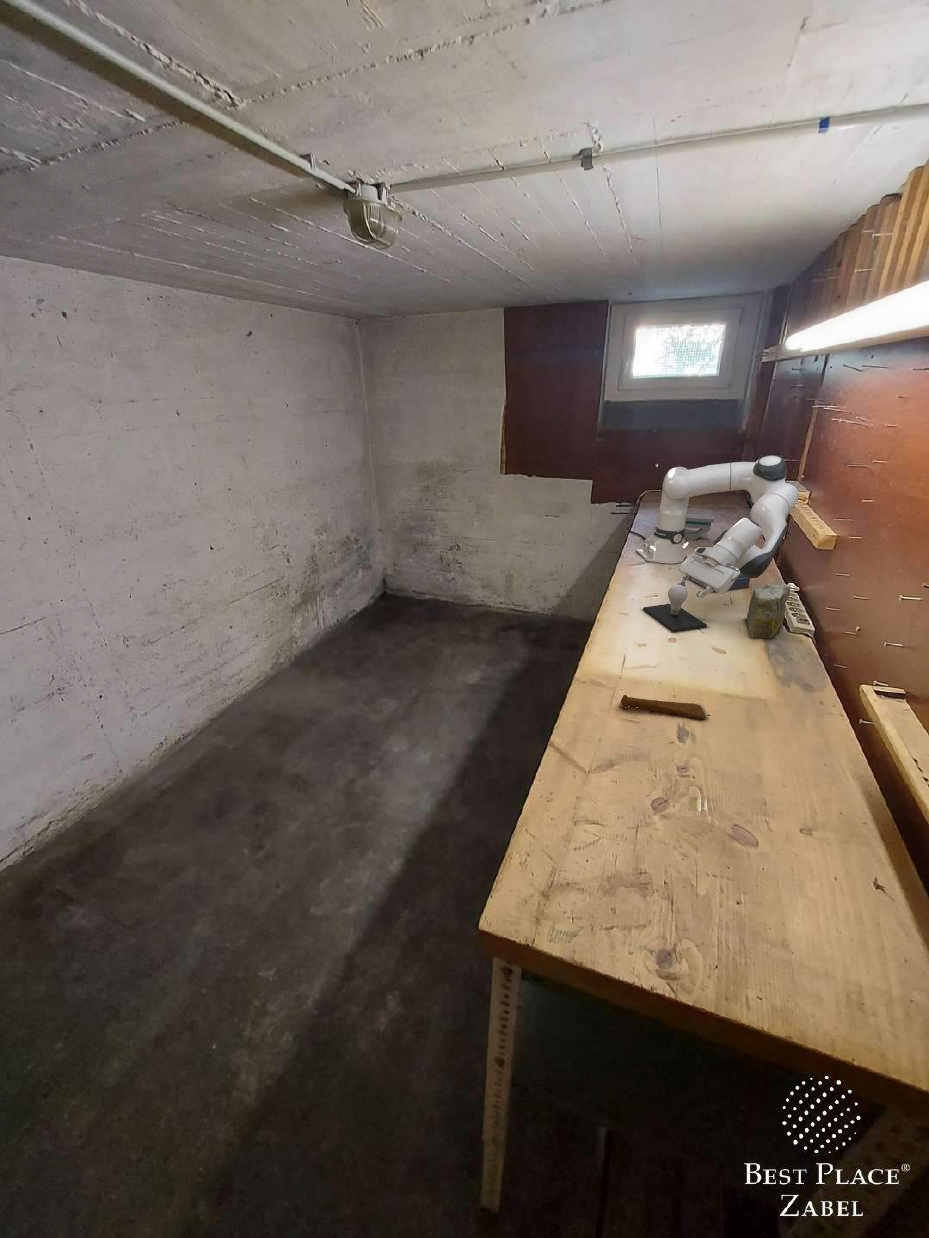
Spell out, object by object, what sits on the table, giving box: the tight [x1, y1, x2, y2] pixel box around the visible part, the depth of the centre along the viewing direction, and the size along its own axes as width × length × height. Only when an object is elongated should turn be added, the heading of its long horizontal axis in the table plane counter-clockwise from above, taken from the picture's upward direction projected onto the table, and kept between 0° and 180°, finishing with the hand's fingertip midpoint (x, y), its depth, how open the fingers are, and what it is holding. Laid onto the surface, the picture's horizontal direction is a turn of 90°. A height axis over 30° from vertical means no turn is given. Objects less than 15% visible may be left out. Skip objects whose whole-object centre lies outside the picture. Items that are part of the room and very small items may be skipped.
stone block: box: [746, 583, 791, 639], centre depth 150 cm, size 10×15×15 cm
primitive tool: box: [620, 694, 706, 720], centre depth 117 cm, size 19×6×4 cm, turn 82°
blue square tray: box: [688, 574, 751, 593], centre depth 188 cm, size 16×16×4 cm
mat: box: [642, 603, 708, 633], centre depth 163 cm, size 18×12×1 cm, turn 12°
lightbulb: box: [667, 584, 689, 616], centre depth 160 cm, size 6×6×11 cm
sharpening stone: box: [684, 513, 716, 541], centre depth 242 cm, size 25×8×11 cm, turn 62°
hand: (688, 591), depth 161 cm, fingers open, 8 cm apart
